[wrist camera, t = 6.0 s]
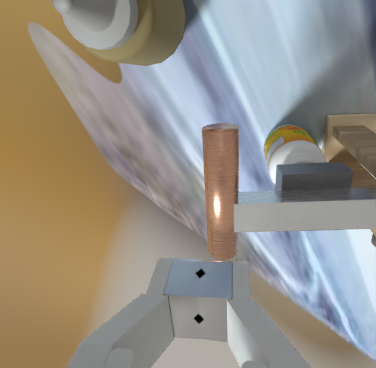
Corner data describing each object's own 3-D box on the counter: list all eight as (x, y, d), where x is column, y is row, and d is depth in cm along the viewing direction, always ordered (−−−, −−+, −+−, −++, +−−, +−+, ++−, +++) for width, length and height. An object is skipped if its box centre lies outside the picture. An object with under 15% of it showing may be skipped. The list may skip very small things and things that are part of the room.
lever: (202, 118, 22) (201, 134, 18) (409, 106, 21) (453, 120, 17) (207, 229, 26) (208, 259, 22) (379, 224, 25) (409, 256, 21)
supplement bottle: (321, 140, 33) (351, 174, 25) (289, 175, 36) (306, 217, 27) (283, 114, 33) (300, 140, 24) (253, 151, 35) (259, 187, 26)
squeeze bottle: (107, 44, 32) (-18, 48, 16) (128, -40, 28) (-8, -143, 13) (174, 75, 33) (116, 109, 17) (203, -4, 29) (164, -59, 13)
